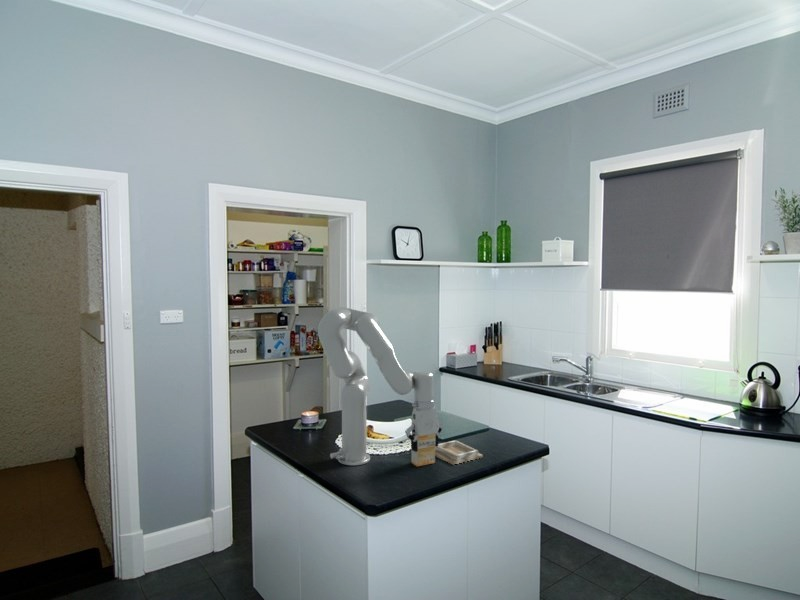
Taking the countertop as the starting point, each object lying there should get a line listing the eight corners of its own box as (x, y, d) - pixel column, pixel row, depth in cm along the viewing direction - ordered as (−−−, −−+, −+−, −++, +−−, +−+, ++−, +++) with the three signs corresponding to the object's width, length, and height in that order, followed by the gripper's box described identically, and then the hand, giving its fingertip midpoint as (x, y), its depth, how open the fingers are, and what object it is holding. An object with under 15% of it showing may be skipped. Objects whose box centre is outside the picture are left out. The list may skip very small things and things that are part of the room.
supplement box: (417, 467, 189) (417, 433, 188) (411, 462, 193) (411, 429, 192) (435, 463, 193) (436, 430, 192) (429, 459, 197) (429, 426, 196)
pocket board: (453, 465, 191) (453, 457, 190) (430, 453, 203) (430, 445, 203) (482, 457, 199) (482, 450, 199) (458, 446, 211) (458, 438, 211)
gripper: (411, 410, 183) (411, 455, 184) (448, 402, 193) (448, 446, 194) (399, 405, 190) (400, 449, 191) (436, 398, 199) (437, 440, 200)
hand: (424, 448), depth 192 cm, fingers open, 9 cm apart
